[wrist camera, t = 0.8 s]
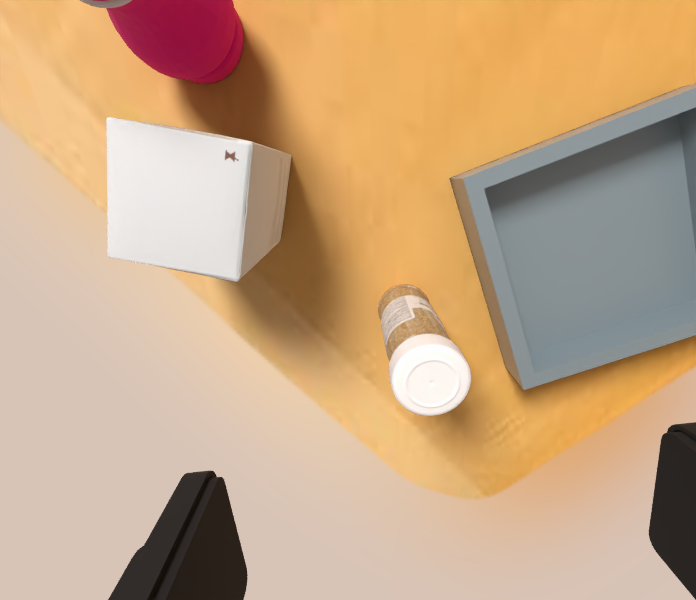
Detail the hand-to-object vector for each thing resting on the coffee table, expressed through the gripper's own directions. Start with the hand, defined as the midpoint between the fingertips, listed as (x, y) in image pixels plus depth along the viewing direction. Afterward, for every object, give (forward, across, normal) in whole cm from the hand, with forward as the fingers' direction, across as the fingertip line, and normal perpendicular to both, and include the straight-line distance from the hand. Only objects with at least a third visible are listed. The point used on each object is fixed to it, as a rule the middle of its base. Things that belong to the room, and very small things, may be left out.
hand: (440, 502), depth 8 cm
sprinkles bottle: (+26, -2, +4) cm, 27 cm away
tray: (+26, -18, 0) cm, 32 cm away
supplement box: (+26, +10, -7) cm, 29 cm away
